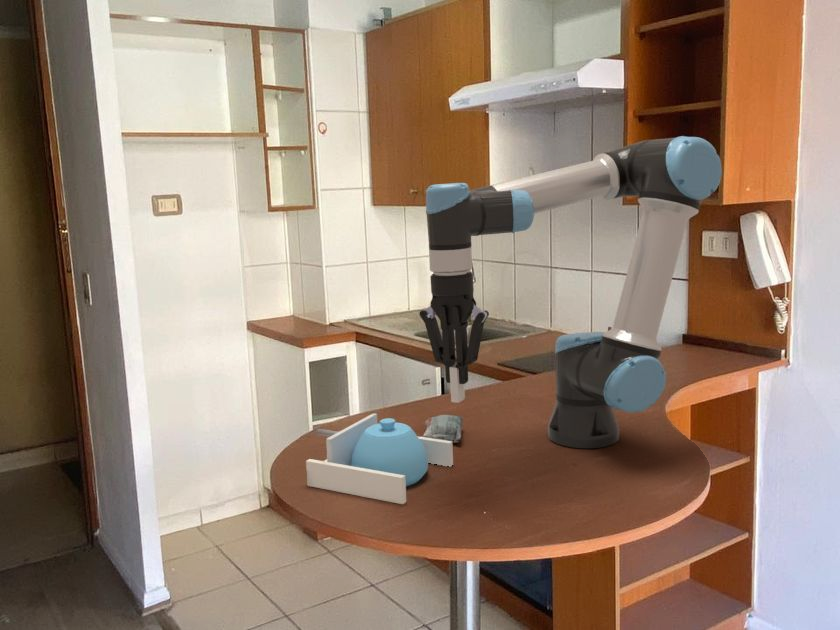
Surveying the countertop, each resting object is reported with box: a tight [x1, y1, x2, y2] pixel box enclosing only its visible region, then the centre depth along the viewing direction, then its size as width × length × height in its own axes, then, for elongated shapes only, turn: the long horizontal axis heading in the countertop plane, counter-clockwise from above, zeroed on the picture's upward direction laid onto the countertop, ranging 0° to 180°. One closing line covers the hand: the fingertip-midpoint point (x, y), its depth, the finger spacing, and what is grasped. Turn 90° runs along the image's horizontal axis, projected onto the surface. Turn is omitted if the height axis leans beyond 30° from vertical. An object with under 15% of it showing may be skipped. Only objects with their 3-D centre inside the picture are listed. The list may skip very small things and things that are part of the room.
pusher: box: [316, 413, 379, 466], centre depth 155 cm, size 9×17×9 cm, turn 152°
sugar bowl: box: [351, 417, 429, 487], centre depth 150 cm, size 15×15×12 cm
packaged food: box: [420, 414, 464, 444], centre depth 171 cm, size 9×12×5 cm
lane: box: [305, 435, 454, 505], centre depth 151 cm, size 21×20×5 cm
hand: (458, 400), depth 141 cm, fingers closed
